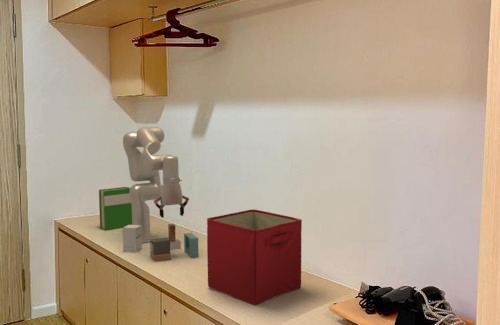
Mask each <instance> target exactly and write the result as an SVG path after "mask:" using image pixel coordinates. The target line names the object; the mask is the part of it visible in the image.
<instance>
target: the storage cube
mask: <svg viewBox="0 0 500 325" xmlns="http://www.w3.org/2000/svg"><path fill="white" fill-rule="evenodd" d="M302 220H303V219H302V218H298V217H294V216H289V215H284V214H278V213H274V212H269V211H264V210H260V209H248V210H247V209H246V210H242V211H238V212H231V213H227V214H222V215H216V216H213V217H207V218H206V224H207V226H206V228H207V229H206V231H207V232H206V236H207V237H206V243H207V244H206V245H207V246H206V248H207V249H206V250H207V252H206V253H207V286H208V288H210V289H213V290H215V291H217V292H220V293H224V294H226V295H228V296H231V297H232V298H233V297H234V298H236V299H238V300H240V301H242V302H243V301H244V302H246V303H248V304H251V305H252V306H256V305H258V304H260V303H262V302H265V301H268V300H270V299H273V298H276V297H278V296H281V295H284V294H286V293H290V292H293V291H296V290H299V289H300V288H301V287H302V228H303V227H302Z"/></svg>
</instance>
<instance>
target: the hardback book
mask: <svg viewBox="0 0 500 325" xmlns="http://www.w3.org/2000/svg"><path fill="white" fill-rule="evenodd" d="M130 188H131V187H128V186H121V187H113V188H104V189H98V203H99V207H98V208H99V229H100V230H104V231H105V232H107V231H112V230H119V229H123V227H125V226H127V225H132V205H131V198H130V193H129V190H130Z"/></svg>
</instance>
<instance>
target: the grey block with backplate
mask: <svg viewBox="0 0 500 325" xmlns="http://www.w3.org/2000/svg"><path fill="white" fill-rule="evenodd" d="M150 242H153V250H154V252H152V251H151V250H150V252H149V254H150V255H149V256H150V257H151V259H152V260H153V261H154V263H157V262H166V261H171V260H172V253H171V250H170V240H169V237H167V236H165V237H156V238H153V239H151V241H150Z"/></svg>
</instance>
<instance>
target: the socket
mask: <svg viewBox="0 0 500 325" xmlns="http://www.w3.org/2000/svg"><path fill="white" fill-rule="evenodd" d="M183 248H184V250H183V251H184V253H185V254H186V255H187V256H188V257H189V258H190V259H197V258H199V237H197V236H196V235H195V234H194V233H192V232H185V233H183Z"/></svg>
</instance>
